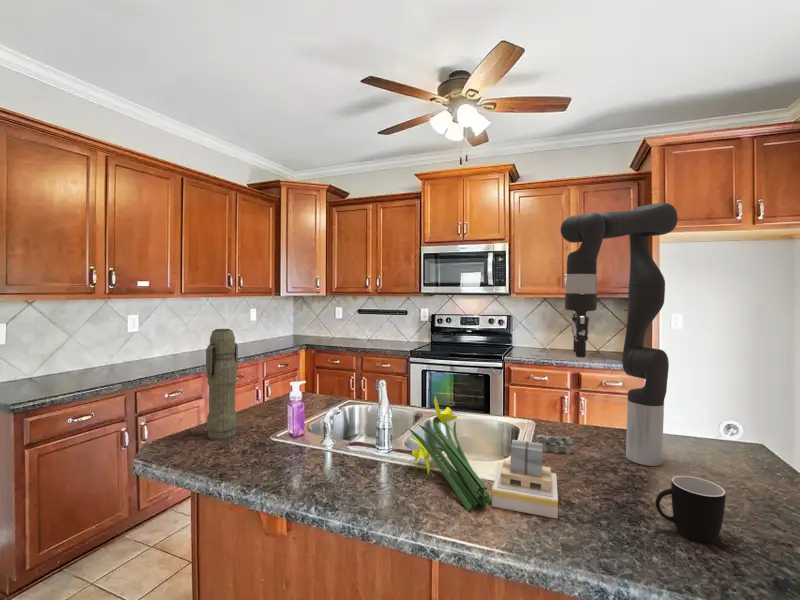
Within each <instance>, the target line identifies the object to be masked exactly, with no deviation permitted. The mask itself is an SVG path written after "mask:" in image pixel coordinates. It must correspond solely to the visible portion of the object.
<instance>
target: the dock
mask: <svg viewBox="0 0 800 600" xmlns="http://www.w3.org/2000/svg"><path fill="white" fill-rule="evenodd" d="M502 467H503V464H498V466H497V468H496V474H495V478H494V479H493V481H494V482H493V485H492V489H491V500H492V503H491V507H493V508H499V509H504V510H508V511H509V510H510V511H515V512H519V513H526V514H530V515H536V516H542V517H547V518H552V519H558V518H559V517H558V515H559V512H558V511H559V510H558V509H559V495H558V481H557V479H558V478H557V473H555V472H551V487H550V492H548V491H542V490H541V484H537V483H531V482H530V488H524V487H521V481H519V480H512V479H511V482H510V485H507V484H501V471H502Z"/></svg>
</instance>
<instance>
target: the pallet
mask: <svg viewBox="0 0 800 600" xmlns="http://www.w3.org/2000/svg"><path fill="white" fill-rule="evenodd" d="M502 465H503V467H502V471H501V484H507V485H510V482H511V479H512V480H519V481H521V487H524V488H530V482H531V483H537V484H541V490H542V491H548V492H550V487H551V473H552V470H551V469H552V467H551V466H547V465H543V452H542V444H541V443H536V442H532V441H527V440H520V439H519V440H518V439H517V440H516V439H512V440H511V445H510V460H508V459H507V460H505V459H504V460H503V462H502Z"/></svg>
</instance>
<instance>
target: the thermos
mask: <svg viewBox="0 0 800 600" xmlns="http://www.w3.org/2000/svg"><path fill="white" fill-rule="evenodd" d="M238 358H239V346H238V343H236V337H235V334H234V331H233V329H231V328H216V329H214V330H212V331H211V334H210V337H209V345H207V348H206V350H205V374H206V377H205V378H206V379H207V385H208V414H207V415H206V416H207V417H206V430H207V439H209V440H212V441H220V440H221V441H222V440H228V439H231V438H234V437H235V436H236V435H237V429H236V428H237V421H238V420H237V419H238V418H237V417H238V416H237V415H238V414H237V412H236V384H237V381H238V380H237V379H238V377H237V375H238V374H237V372H238V367H239V359H238Z"/></svg>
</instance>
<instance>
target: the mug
mask: <svg viewBox="0 0 800 600" xmlns="http://www.w3.org/2000/svg"><path fill="white" fill-rule="evenodd" d="M670 484H671V486H670V487H671V488H667V489H665V490H662V491H661V492H660V493H658V494H657V495H656V498H655V508H656V510H657V512H658V514H659V515H660V516H661V517H662V518H664V519H665V520H667V521H669V522H670V523H674V526H675V527H676V529H677V531H678V532H679V534H680V535H682V536H684V537H685V538H687V539H689V540H692V541H695V542H698V543H702V544H712V543H714V542H716V541H717V539H718V537H719V535H720V533H721V529H722V526H723V522H724V521H723V520H724V516H725V510H726V509H725V508H726V497H727V495H726V491H725V489H724V488H723V487H722V486H721V485H718V484H717V483H714V482H712V481H710V480H707V479H703V478H700V477H696V476H691V475H690V476H688V475H676V476H673V477H672V479H671V483H670ZM667 495H671V507H672V516H670V515H667V514H665V512H663V510H662V509H661V506H660V504H661V501H662V499H663V498H664V497H665V496H667Z"/></svg>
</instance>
